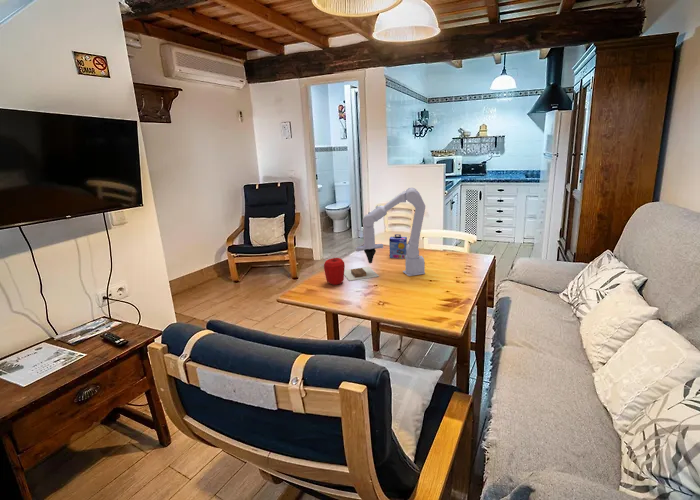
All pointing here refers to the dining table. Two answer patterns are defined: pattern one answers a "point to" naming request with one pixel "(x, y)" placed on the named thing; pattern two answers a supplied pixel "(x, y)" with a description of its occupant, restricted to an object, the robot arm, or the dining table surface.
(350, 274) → the mat
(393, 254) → the ink cartridge box
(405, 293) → the dining table surface
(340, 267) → the apple
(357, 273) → the tile
